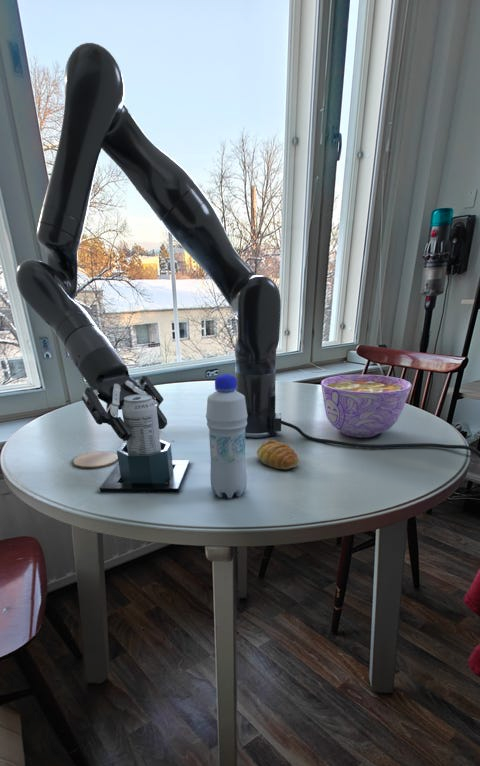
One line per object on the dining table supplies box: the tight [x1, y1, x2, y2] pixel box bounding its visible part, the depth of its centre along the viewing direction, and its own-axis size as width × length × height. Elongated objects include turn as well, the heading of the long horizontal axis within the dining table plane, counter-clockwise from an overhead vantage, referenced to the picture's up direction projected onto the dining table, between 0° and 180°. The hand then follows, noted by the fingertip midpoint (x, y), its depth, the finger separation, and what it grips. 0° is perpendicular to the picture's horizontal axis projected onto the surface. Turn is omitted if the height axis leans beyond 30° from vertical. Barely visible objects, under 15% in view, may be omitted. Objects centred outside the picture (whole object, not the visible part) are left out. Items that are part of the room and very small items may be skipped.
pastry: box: [256, 439, 300, 470], centre depth 91 cm, size 9×7×4 cm
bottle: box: [205, 373, 248, 499], centre depth 75 cm, size 7×7×20 cm
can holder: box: [99, 439, 190, 494], centre depth 85 cm, size 14×14×6 cm
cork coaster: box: [73, 451, 118, 469], centre depth 95 cm, size 9×9×1 cm
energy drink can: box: [121, 394, 161, 454], centre depth 83 cm, size 6×6×15 cm
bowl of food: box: [320, 374, 413, 438], centre depth 106 cm, size 20×20×12 cm
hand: (146, 432), depth 82 cm, fingers open, 8 cm apart
